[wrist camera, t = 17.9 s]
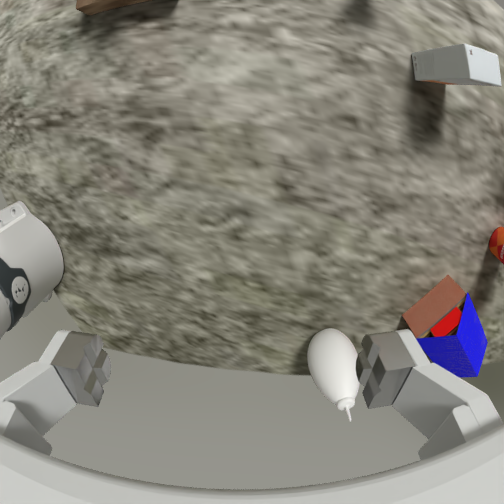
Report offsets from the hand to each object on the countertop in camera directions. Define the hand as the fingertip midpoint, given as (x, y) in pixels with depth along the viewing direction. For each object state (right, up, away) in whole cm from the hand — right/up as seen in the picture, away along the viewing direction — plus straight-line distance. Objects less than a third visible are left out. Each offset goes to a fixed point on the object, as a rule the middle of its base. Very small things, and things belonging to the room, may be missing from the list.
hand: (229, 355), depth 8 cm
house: (+38, -10, +41) cm, 58 cm away
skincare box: (+25, +28, +21) cm, 44 cm away
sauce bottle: (+13, -11, +41) cm, 44 cm away
